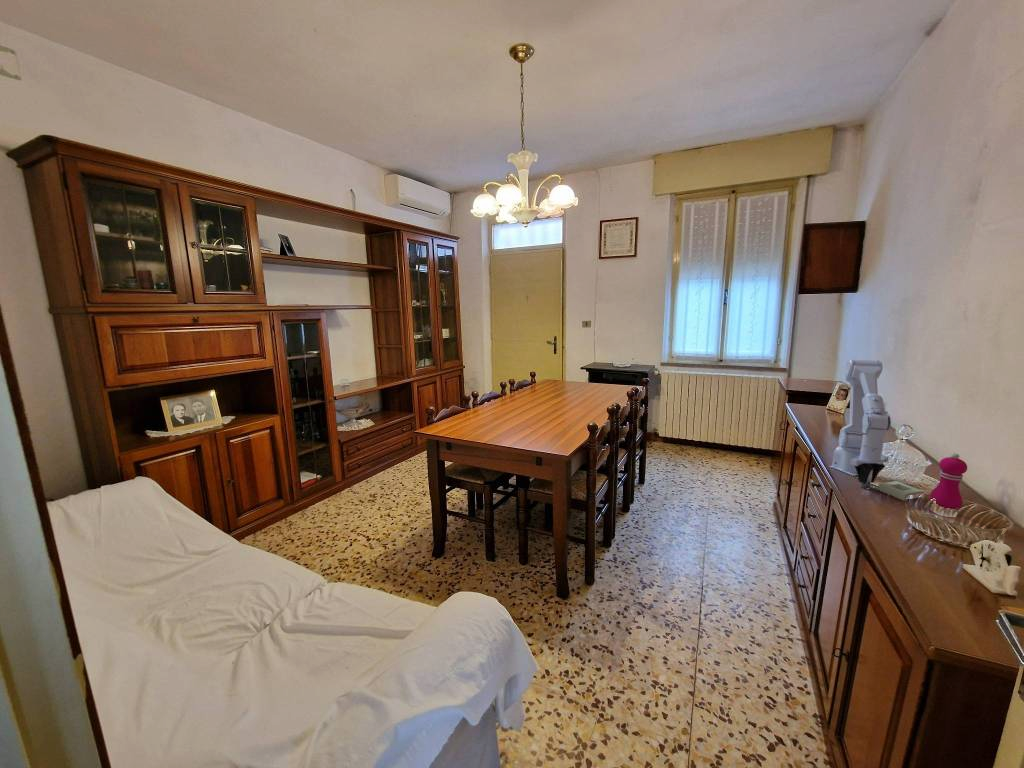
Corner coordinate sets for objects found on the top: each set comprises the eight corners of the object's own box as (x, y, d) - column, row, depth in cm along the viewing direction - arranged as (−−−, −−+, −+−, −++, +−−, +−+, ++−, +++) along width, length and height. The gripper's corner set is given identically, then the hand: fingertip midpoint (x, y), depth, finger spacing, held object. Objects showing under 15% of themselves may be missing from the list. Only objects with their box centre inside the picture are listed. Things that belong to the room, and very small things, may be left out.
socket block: (878, 490, 147) (879, 483, 146) (895, 487, 148) (896, 481, 148) (903, 500, 139) (905, 493, 139) (921, 497, 141) (923, 491, 140)
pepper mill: (935, 516, 129) (947, 456, 125) (921, 505, 136) (933, 448, 132) (965, 520, 127) (979, 459, 123) (950, 509, 133) (963, 450, 129)
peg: (857, 486, 150) (861, 465, 149) (864, 485, 151) (867, 464, 149) (866, 489, 148) (869, 468, 146) (872, 488, 148) (875, 467, 146)
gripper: (867, 452, 141) (861, 489, 143) (900, 448, 144) (893, 484, 147) (847, 445, 147) (841, 480, 150) (878, 441, 150) (872, 476, 153)
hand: (865, 482), depth 149 cm, fingers closed on peg, 3 cm apart
